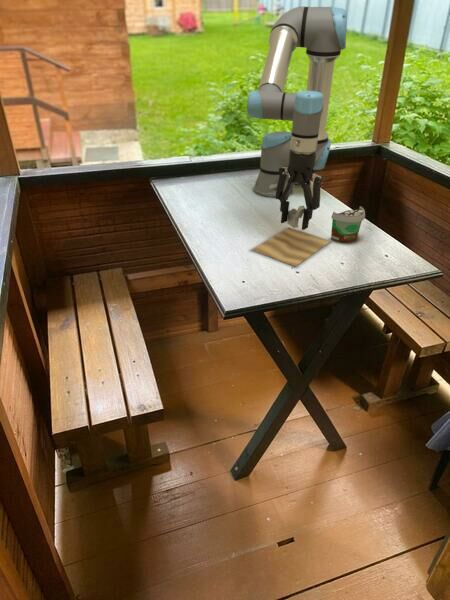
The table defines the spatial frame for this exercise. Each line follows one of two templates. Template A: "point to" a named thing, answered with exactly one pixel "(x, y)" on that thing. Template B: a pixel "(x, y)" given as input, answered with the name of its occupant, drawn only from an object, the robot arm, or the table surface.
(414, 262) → the table surface
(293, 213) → the lighter
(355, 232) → the food container
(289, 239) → the wooden board
